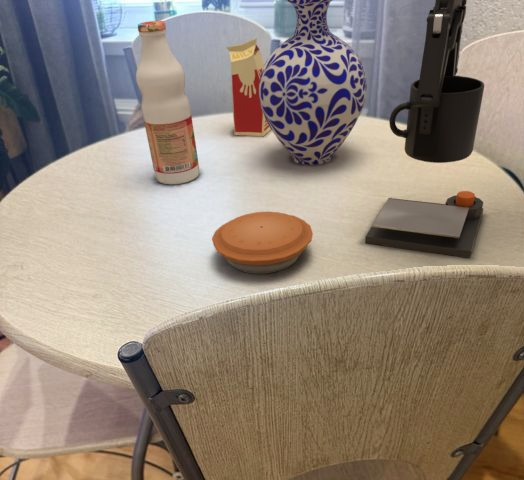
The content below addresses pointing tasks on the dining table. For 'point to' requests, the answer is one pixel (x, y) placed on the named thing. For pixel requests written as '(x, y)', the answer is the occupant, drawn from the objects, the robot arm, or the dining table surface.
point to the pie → (262, 241)
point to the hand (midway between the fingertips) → (430, 143)
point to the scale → (433, 242)
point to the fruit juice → (165, 108)
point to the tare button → (465, 199)
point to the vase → (312, 87)
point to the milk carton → (247, 89)
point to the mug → (446, 119)
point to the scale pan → (422, 218)
